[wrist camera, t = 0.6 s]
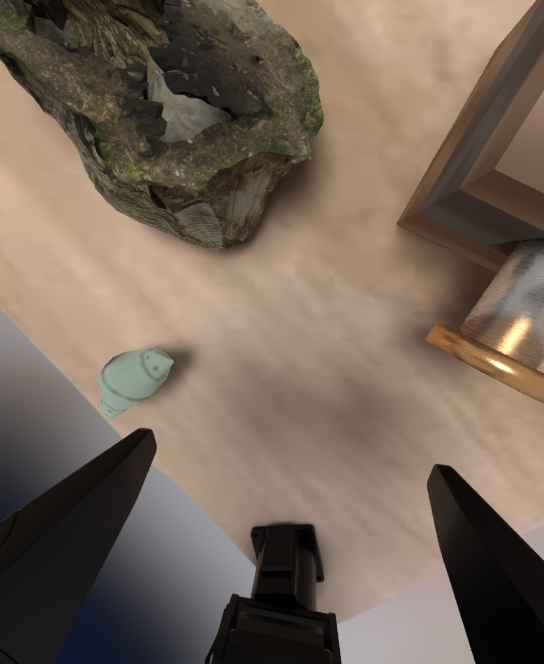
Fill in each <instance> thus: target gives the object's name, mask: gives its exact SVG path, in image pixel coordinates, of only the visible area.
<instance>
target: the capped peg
mask: <svg viewBox="0 0 544 664" xmlns="http://www.w3.org/2000/svg"><path fill="white" fill-rule="evenodd" d="M425 340H426V341H427V342H429V343H431V344H432V345H434V346H436V347H437V348H439V349H441V350H443V351H444V352H446V353H448V354H450V355H452V356H453V357H455V358H457V359H459V360H461V361H462V362H464V363H466V364H468V365H470V366H472V367H473V368H475V369H477V370H479V371H481V372H483V373H485V374H487V375H488V376H490V377H492V378H494V379H496V380H498V381H500V382H502V383H504V384H506V385H508V386H509V387H511V388H513V389H515V390H517V391H519V392H521V393H523V394H525V395H527V396H529V397H531V398H533V399H535V400H537V401H539V402H542V403H544V373H542V372H540V371H538V370H537V369H538V367H539V366H540V365H541V364H542V362H543V361H544V237H539V238H532V239H525V240H520V242H519V243H518V245H517V246H516V247H515V249H514V250H513V252H512V253H511V255H510V256H509V258H508V259H507V260H506V262H505V263H504V265H503V266H502V268H501V269H500V270H499V272H498V273H497V275H496V276H495V278H494V279H493V281H492V282H491V283H490V285H489V286H488V288H487V289H486V291H485V292H484V293H483V295H482V296H481V298H480V299H479V301H478V302H477V304H476V305H475V306H474V308H473V309H472V311H471V312H470V314H469V315H468V317H467V318H466V319H465V321H464V322H463V324H462V325H461V327H460V328H459V329H458V331H455V330H453V329H451V328H448V327H446V326H444V325H442V324H439V323H435V325H434V326H433V328H432V329H431V331H430V332H429V334H428V335H427V337H426V338H425Z"/></svg>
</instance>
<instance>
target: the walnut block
mask: <svg viewBox="0 0 544 664" xmlns="http://www.w3.org/2000/svg"><path fill="white" fill-rule="evenodd" d="M397 224H398V225H400V226H402V227H404V228H406V229H408V230H410V231H412V232H414V233H416V234H418V235H420V236H422V237H424V238H426V239H428V240H430V241H432V242H434V243H436V244H438V245H440V246H442V247H444V248H446V249H448V250H450V251H452V252H454V253H456V254H458V255H460V256H462V257H464V258H466V259H468V260H470V261H473V262H475V263H477V264H479V265H481V266H483V267H485V268H487V269H489V270H491V271H493V272H495V273H498V272H499V270H500V269H501V268H502V266H503V265H504V263H505V262H506V260H507V259H508V258H509V256H510V255H511V253H512V252H513V250H514V249H515V247H516V246H517V245H518V243H519V242H520V240H525V239H532V238H539V237H544V0H536V1H535V3H534V4H533V5H532V6H531V8H530V9H529V10H528V11H527V12H526V14H525V15H524V16H523V17H522V18H521V20H520V21H519V22H518V23H517V24H516V26H515V27H514V28H513V29H512V31H511V32H510V33H509V34H508V35H507V37H506V38H505V39H504V40H503V41H502V43H501V44H500V45H499V46H498V47H497V49H496V51H495V53H494V54H493V56H492V58H491V60H490V61H489V63H488V65H487V67H486V68H485V70H484V72H483V74H482V75H481V77H480V79H479V81H478V82H477V84H476V86H475V88H474V89H473V91H472V93H471V95H470V96H469V98H468V100H467V102H466V103H465V105H464V107H463V109H462V110H461V112H460V114H459V116H458V117H457V119H456V121H455V123H454V124H453V126H452V128H451V130H450V131H449V133H448V135H447V137H446V138H445V140H444V142H443V144H442V145H441V147H440V149H439V151H438V152H437V154H436V156H435V158H434V159H433V161H432V163H431V165H430V166H429V168H428V170H427V172H426V173H425V175H424V177H423V179H422V180H421V182H420V184H419V186H418V187H417V189H416V191H415V193H414V194H413V196H412V198H411V200H410V201H409V203H408V205H407V207H406V208H405V210H404V212H403V214H402V215H401V217H400V219H399V221H398V222H397Z"/></svg>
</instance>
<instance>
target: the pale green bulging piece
mask: <svg viewBox="0 0 544 664" xmlns="http://www.w3.org/2000/svg"><path fill="white" fill-rule="evenodd" d="M173 363H174V361H173V360H172V359H171V358H170V356H169V355H168V354H167V353H165V352H164V351H163V350H162V349H160V348H159V347H157V348H154V349H152V350H138V351H130V352H124V353H122V354H120V355H117V356H115V357H113V358H112V359H111V360H110V361H109V362H108V363H107V364H106V365H105V366H104V368H103V370H102V371H101V373H100V375H99V377H98V383H99V387H100V389H101V391H102V393H103V397H102V399H101V401H100V404H99V406H98V407H99V408H100V409H101V410H102V411H103V412H104V414H105V415H106V416H107V417H108V418H109V419H110V421H111V420H112V419H114V418H116V417H117V416H119V415H120V414H122V413H123V412H125V411H126V410H128V409H129V408H131V407H133V406H135V405H138V404H140V403H142V402H144V401H145V400H146V399H148V398H149V397H150V396H151V395H152V394H153V393H154V392H155V391H156V390H157V389H158V388H159V387H160V386H161V385H162V383H163V382H164V381H165V380H166V379H167V377H168V374H169V372H170V368H171V366H172V365H173Z"/></svg>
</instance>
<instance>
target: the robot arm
mask: <svg viewBox="0 0 544 664" xmlns="http://www.w3.org/2000/svg"><path fill="white" fill-rule="evenodd" d="M156 450H157V445H156V441H155V437H154V433H153V431H152V430H151V429H148V428H139V429H137V430H135V431H134V432H132V433H131V434H129V435H128V436H127V437H125V438H124V439H122V440H121V441H119V442H118V443H116V444H115V445H113V446H112V447H110V448H109V449H107V450H106V451H104V452H103V453H102V454H100V455H99V456H97V457H96V458H94V459H93V460H91V461H90V462H88V463H87V464H85V465H84V466H82V467H81V468H79V469H78V470H77V471H75V472H73V473H72V474H71V475H69V476H68V477H66V478H65V479H63V480H62V481H60V482H59V483H57V484H56V485H54V486H53V487H51V488H50V489H48V490H47V491H46V492H44V493H43V494H41V495H40V496H38V497H37V498H36V499H34V500H32V501H31V502H29V503H28V504H26V505H25V506H24V507H22V508H21V510H18V511H16V512H14V513H13V514H11V515H10V516H8V517H7V518H6V519H4V520H3V521H1V522H0V664H52V663H53V661H54V659H55V657H56V655H57V653H58V651H59V649H60V647H61V645H62V643H63V641H64V640H65V638H66V636H67V634H68V632H69V630H70V628H71V626H72V624H73V622H74V620H75V618H76V616H77V614H78V613H79V611H80V609H81V607H82V605H83V603H84V601H85V599H86V597H87V595H88V593H89V591H90V589H91V587H92V585H93V583H94V582H95V580H96V578H97V576H98V574H99V572H100V570H101V568H102V566H103V564H104V562H105V560H106V558H107V556H108V554H109V552H110V550H111V549H112V547H113V545H114V543H115V541H116V539H117V537H118V535H119V533H120V531H121V529H122V527H123V525H124V523H125V521H126V520H127V518H128V516H129V514H130V512H131V510H132V508H133V506H134V504H135V502H136V500H137V498H138V495H139V493H140V491H141V488H142V486H143V483H144V481H145V478H146V476H147V473H148V471H149V468H150V466H151V463H152V461H153V458H154V456H155V453H156ZM427 489H428V494H429V499H430V504H431V509H432V514H433V519H434V524H435V529H436V534H437V538H438V543H439V547H440V550H441V554H442V557H443V560H444V563H445V567H446V570H447V573H448V576H449V580H450V583H451V586H452V589H453V592H454V596H455V599H456V602H457V605H458V609H459V612H460V615H461V618H462V622H463V625H464V628H465V631H466V635H467V638H468V641H469V644H470V648H471V651H472V653H473V657H474V660H475V663H476V664H544V560H543V559H542V558H541V557H540V556H539V555H538V554H537V553H536V552H535V551H534V550H533V549H532V548H531V547H530V546H529V545H528V544H527V543H526V542H525V541H524V540H523V539H522V538H521V537H520V536H519V535H518V534H517V533H516V532H515V531H514V530H513V529H512V528H511V527H510V526H509V525H508V524H507V523H506V521H505V520H504V519H503V518H502V517H501V516H500V515H499V514H498V513H497V512H496V511H495V510H494V509H493V508H492V507H491V506H490V505H489V504H488V503H487V502H486V501H485V500H484V499H483V498H482V497H481V496H480V495H479V494H478V493H477V492H476V491H475V490H474V489H473V488H472V487H471V486H470V485H469V484H468V483H467V482H466V481H465V480H464V479H463V478H462V477H461V476H460V475H459V474H458V473H457V472H456V471H455V470H454V469H453V468H452V467H451V466H449V465H442V464H435V465H434V466H433V469H432V471H431V473H430V476H429V478H428V481H427ZM255 533H257V534H255ZM251 538H252V542H253V546H254V550H255V554H256V558H257V567H256V573H255V578H254V583H253V588H252V593H251V598H246V597H240V596H239V595H237V594H232V596H231V599H230V602H229V604H227V607H226V608H225V609H224V612H223V616H222V620H221V624H220V627H219V630H218V633H217V636H216V638H215V640H214V642H213V644H212V646H211V648H210V650H209V653H208V655H207V657H206V659H205V663H204V664H342V663H341V656H340V647H339V639H338V631H337V623H336V615H335V614H334V613H328V614H327V613H322V612H317V611H316V582H323V581H324V572H323V567H322V562H321V557H320V553H319V548H318V543H317V538H316V533H315V529H314V527H313V526H311V525H297V526H277V527H257V528H253V529H252V530H251Z"/></svg>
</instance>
